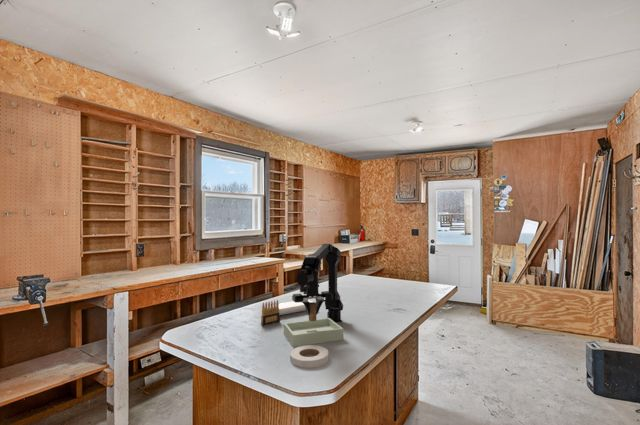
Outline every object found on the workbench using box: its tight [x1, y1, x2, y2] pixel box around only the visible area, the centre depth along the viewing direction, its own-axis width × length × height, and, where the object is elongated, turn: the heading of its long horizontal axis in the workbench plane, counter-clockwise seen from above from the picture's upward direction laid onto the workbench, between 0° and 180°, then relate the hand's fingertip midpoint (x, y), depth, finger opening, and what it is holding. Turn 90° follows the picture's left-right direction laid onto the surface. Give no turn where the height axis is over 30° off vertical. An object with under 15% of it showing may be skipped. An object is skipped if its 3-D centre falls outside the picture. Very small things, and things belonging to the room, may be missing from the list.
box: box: [283, 318, 344, 348], centre depth 152 cm, size 24×18×5 cm
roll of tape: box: [289, 344, 330, 369], centre depth 127 cm, size 16×15×3 cm
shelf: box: [267, 299, 314, 316], centre depth 192 cm, size 11×30×5 cm, turn 124°
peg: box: [308, 301, 317, 321], centre depth 152 cm, size 4×4×8 cm
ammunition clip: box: [260, 299, 281, 327], centre depth 172 cm, size 11×2×12 cm, turn 131°
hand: (312, 314), depth 152 cm, fingers closed on peg, 4 cm apart
